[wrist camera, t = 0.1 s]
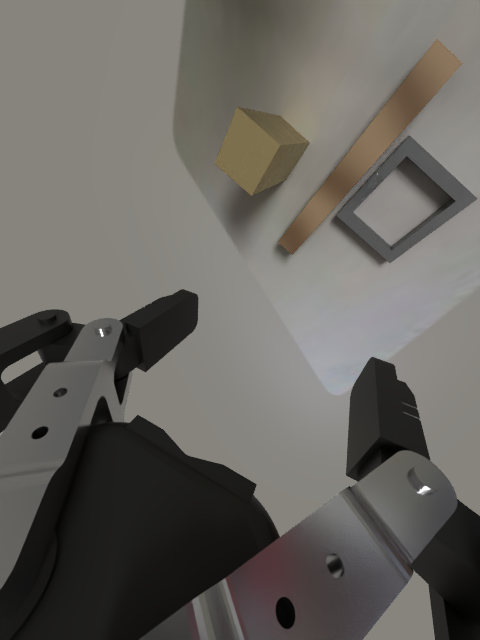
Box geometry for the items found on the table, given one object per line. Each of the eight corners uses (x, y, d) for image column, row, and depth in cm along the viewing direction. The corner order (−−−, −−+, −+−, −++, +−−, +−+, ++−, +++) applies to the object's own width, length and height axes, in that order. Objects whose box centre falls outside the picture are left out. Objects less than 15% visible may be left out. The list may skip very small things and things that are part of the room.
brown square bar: (430, 48, 17) (437, 38, 15) (453, 70, 17) (462, 63, 15) (283, 235, 30) (277, 241, 28) (297, 247, 30) (292, 254, 28)
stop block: (280, 116, 23) (237, 106, 16) (309, 142, 23) (280, 145, 16) (258, 156, 26) (214, 163, 19) (285, 179, 26) (251, 195, 19)
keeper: (408, 135, 20) (410, 135, 19) (473, 196, 20) (477, 198, 20) (337, 212, 26) (336, 215, 25) (389, 259, 26) (389, 263, 25)
